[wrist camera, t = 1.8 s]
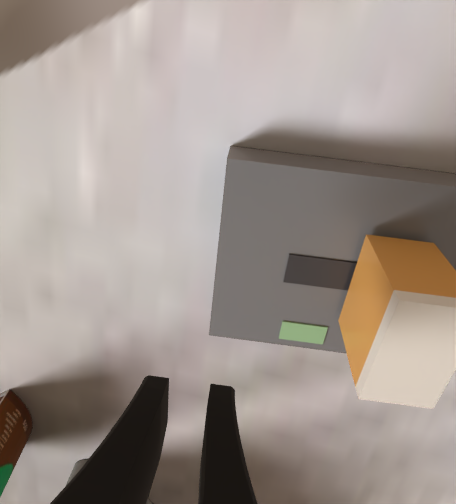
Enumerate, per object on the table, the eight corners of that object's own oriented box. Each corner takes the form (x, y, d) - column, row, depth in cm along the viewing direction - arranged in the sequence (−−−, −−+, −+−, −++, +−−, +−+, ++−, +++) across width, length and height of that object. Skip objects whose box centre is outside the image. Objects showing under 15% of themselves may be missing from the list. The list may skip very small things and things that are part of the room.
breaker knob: (434, 242, 17) (488, 311, 13) (397, 328, 20) (432, 408, 15) (365, 234, 17) (399, 300, 13) (338, 320, 20) (358, 398, 15)
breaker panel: (575, 188, 18) (610, 206, 16) (480, 347, 23) (499, 374, 21) (230, 145, 18) (227, 159, 16) (212, 312, 23) (208, 336, 21)
